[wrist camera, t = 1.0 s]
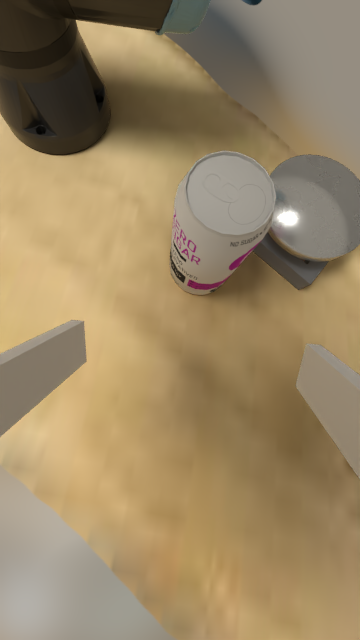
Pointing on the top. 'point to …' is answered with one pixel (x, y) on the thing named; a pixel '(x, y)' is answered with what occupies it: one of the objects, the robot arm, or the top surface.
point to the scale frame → (288, 263)
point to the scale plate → (315, 208)
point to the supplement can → (218, 219)
